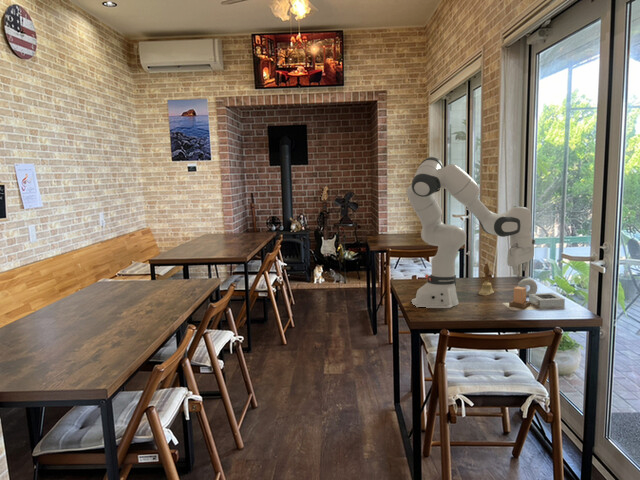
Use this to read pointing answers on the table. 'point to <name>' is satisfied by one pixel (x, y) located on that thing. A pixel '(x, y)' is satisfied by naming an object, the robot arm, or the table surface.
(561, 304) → the socket block
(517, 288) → the peg
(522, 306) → the peg holder
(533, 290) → the donut
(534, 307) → the board
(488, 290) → the hand bell
